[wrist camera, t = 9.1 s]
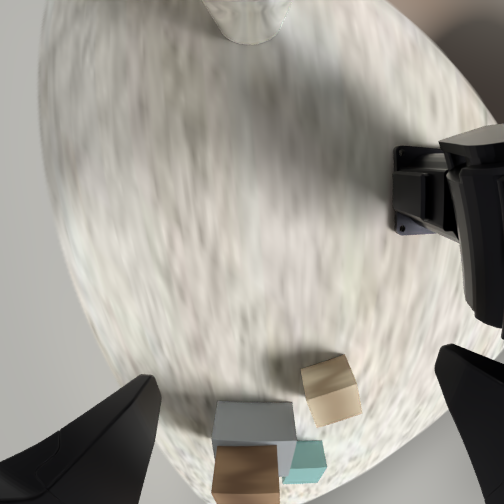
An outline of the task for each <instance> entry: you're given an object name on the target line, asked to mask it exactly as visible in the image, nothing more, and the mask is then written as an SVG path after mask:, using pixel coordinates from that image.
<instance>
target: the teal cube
mask: <svg viewBox="0 0 504 504" xmlns="http://www.w3.org/2000/svg"><path fill="white" fill-rule="evenodd" d="M326 468H327V464H326V459H325V454H324V449H323V444H322V441H297V443H296V447H295V451H294V455H293V459H292V463H291V467H290V471H289V475H288V476H283V477H282V482H283V484H303V483H317V482H318V481H319V479H320V478H321V476H322V475H323V473H324V471H325V470H326Z"/></svg>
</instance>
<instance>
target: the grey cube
mask: <svg viewBox="0 0 504 504" xmlns="http://www.w3.org/2000/svg"><path fill="white" fill-rule="evenodd" d="M296 443H297V437H296V429H295V421H294V413H293V405H292V402H230V401H218V402H217V408H216V414H215V420H214V427H213V433H212V445H213V452H214V458H215V459H216V451H217V446H266V445H277V456H278V473H279V477H283V476H288V475H289V471H290V467H291V463H292V459H293V455H294V451H295V447H296Z"/></svg>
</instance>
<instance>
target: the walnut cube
mask: <svg viewBox="0 0 504 504" xmlns="http://www.w3.org/2000/svg"><path fill="white" fill-rule="evenodd" d="M211 493H212V495H213V497H214V499H215V501H216V503H217V504H280V492H279V473H278V456H277V445H266V446H217V451H216V459H215V467H214V475H213V483H212V491H211Z"/></svg>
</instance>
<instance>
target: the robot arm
mask: <svg viewBox="0 0 504 504" xmlns="http://www.w3.org/2000/svg"><path fill="white" fill-rule="evenodd" d="M438 142H439V145H440V148H441V149H433V148H423V147H412V146H396V147H395V148H394V152H393V153H394V173H393V208H394V210H395V232H396V233H397V234H399V235H417V234H434V233H437V234H440V235H442V236H444V237H447V238H449V239H451V240H453V241H455V242H458V243H459V244H460V252H461V261H462V271H463V284H464V294H465V299H466V301H467V303H468V304H469V306H470V307H471V308H472V310H473V311H474V312H475V317H476V318H477V319H478V320H480V321H482V322H483V323H485V324H487V325H490V326H493V327H496V328H502V333H501V338H502V339H503V340H504V124H497V125H489V126H484V127H481V128H477V129H474V130H471V131H468V132H465V133H461V134H458V135H455V136H452V137H449V138H446V139H443V140H440V141H438ZM399 150H401V151H402V155H401V156H400V154H399ZM402 225H403V229H402V230H401V231H400V227H401V226H402ZM435 374H436V376H437V379H438V381H439V384H440V387H441V390H442V392H443V395H444V398H445V401H446V403H447V406H448V409H449V411H450V413H451V415H452V417H453V420H454V422H455V424H456V426H457V428H458V431H459V433H460V435H461V438H462V440H463V442H464V445H465V447H466V450H467V452H468V454H469V457H470V460H471V462H472V465H473V468H474V470H475V473H476V476H477V478H478V481H479V484H480V487H481V490H482V494H483V497H484V499H485V504H504V364H502V363H500V362H497V361H495V360H492V359H490V358H487V357H485V356H482V355H480V354H477V353H475V352H472V351H470V350H467V349H465V348H462V347H460V346H457V345H455V344H447V345H444V346H442V347H441V348H440V350H439V354H438V357H437V360H436V363H435ZM160 406H161V393H160V390H159V388H158V385H157V382H156V379H155V377H154V376H153V375H146V374H141V375H139V376H137V377H136V378H134V379H133V380H132V381H130V382H129V383H127V384H126V385H125V386H123V387H122V388H120V389H119V390H118V391H116V392H115V393H113V394H112V395H110V396H109V397H107V398H106V399H105V400H103V401H102V402H100V403H99V404H97V405H96V406H95V407H93V408H91V409H90V410H89V411H87V412H86V413H84V414H83V415H81V416H80V417H78V418H77V419H75V420H74V421H72V422H71V423H69V424H68V425H66V426H65V427H63V428H62V429H61V430H60V431H57V432H55V433H54V434H52V435H51V436H49V437H48V438H46V439H44V440H43V441H41V442H39V443H38V444H36V445H34V446H32V447H30V448H28V449H26V450H24V451H22V452H20V453H18V454H16V455H14V456H12V457H10V458H7V459H6V460H3V461H1V462H0V504H138V503H139V499H140V495H141V491H142V487H143V483H144V479H145V476H146V472H147V468H148V464H149V461H150V457H151V453H152V449H153V446H154V442H155V437H156V431H157V425H158V418H159V412H160Z"/></svg>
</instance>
